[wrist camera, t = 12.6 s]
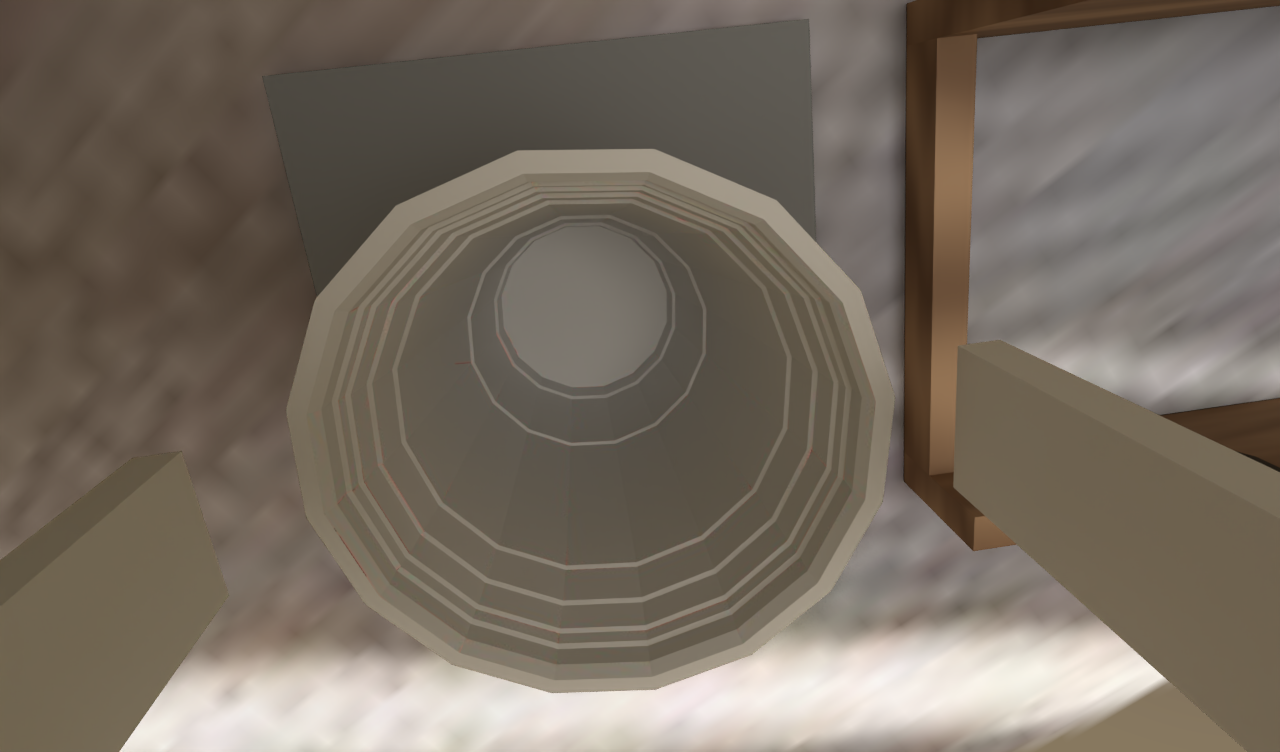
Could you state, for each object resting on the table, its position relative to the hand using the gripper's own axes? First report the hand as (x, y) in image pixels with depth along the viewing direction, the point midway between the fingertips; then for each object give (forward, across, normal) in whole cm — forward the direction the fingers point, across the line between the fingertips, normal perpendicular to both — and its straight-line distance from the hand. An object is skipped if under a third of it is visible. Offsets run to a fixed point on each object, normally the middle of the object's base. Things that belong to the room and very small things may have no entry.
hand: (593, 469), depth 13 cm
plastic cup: (+12, 0, 0) cm, 12 cm away
